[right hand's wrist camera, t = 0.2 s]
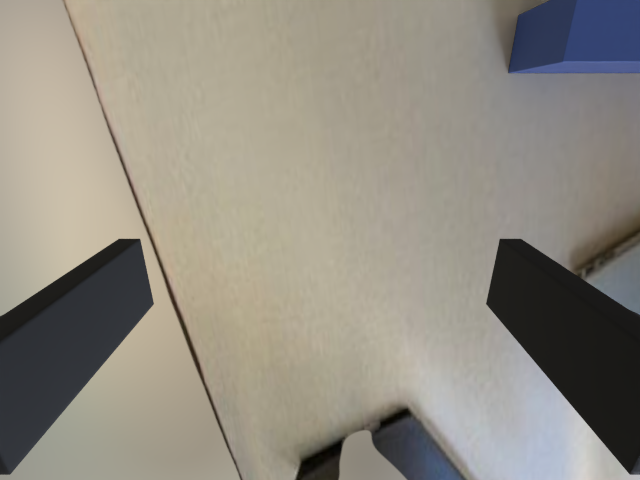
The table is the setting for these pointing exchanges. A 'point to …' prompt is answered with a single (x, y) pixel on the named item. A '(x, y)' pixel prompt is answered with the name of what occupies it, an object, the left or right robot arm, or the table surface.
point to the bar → (578, 37)
